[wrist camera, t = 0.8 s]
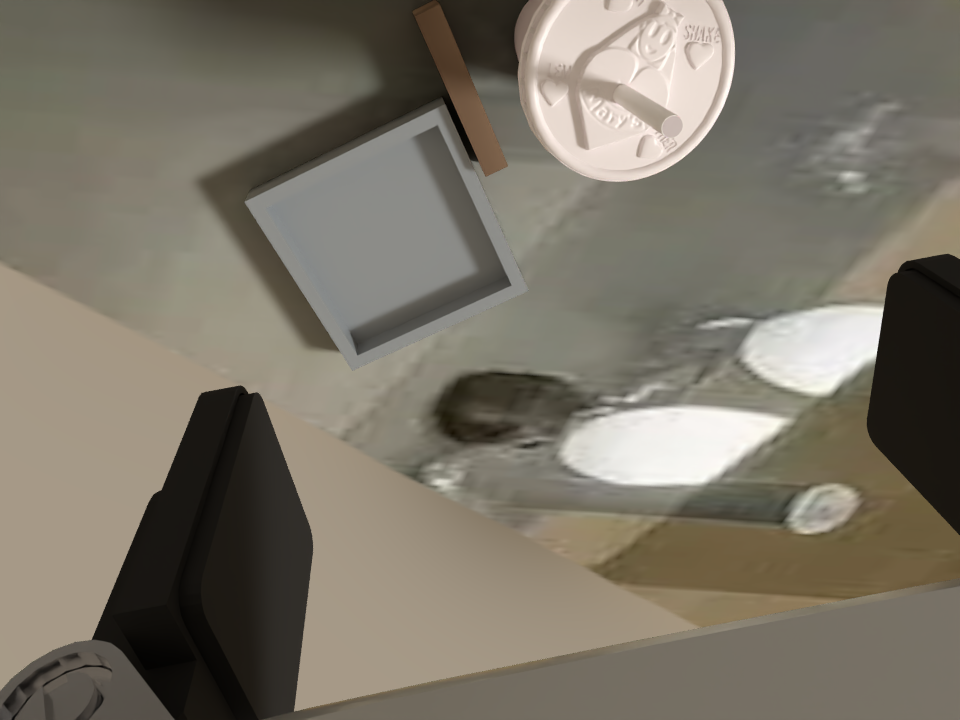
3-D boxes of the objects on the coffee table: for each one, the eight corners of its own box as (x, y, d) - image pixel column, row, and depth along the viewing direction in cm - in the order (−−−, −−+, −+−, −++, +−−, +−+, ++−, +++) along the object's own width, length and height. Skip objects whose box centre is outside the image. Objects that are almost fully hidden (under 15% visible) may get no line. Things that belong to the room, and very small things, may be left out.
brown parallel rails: (652, -111, 27) (673, -114, 26) (696, 59, 31) (717, 67, 29) (412, 11, 28) (414, 16, 27) (478, 162, 32) (485, 176, 30)
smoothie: (452, 69, 30) (505, 162, 18) (533, -92, 27) (660, -111, 15) (581, 144, 32) (706, 271, 20) (667, 1, 29) (870, 48, 17)
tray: (441, 96, 30) (444, 103, 29) (522, 276, 35) (528, 290, 33) (249, 190, 31) (244, 202, 30) (353, 354, 36) (352, 370, 34)
